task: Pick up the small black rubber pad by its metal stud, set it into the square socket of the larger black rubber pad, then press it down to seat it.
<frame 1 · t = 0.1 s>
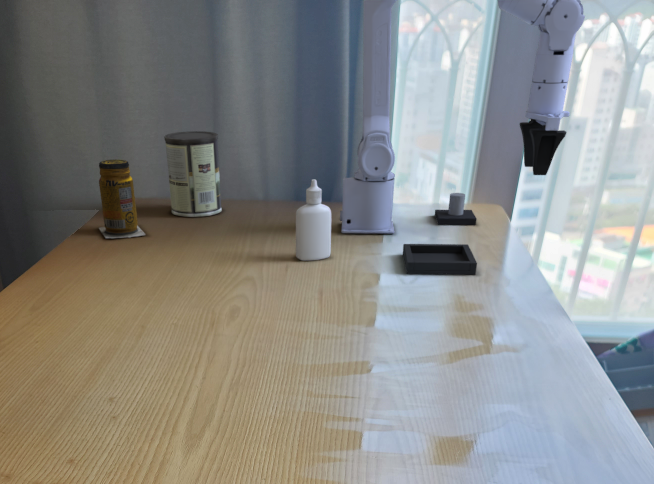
hand: (535, 170, 131), 10 cm above the table, tool pointing down, fingers open, 7 cm apart
coffee can: (196, 212, 152), on the table
condiment: (122, 233, 138), on the table
socket pad: (437, 264, 119), on the table
stud pad: (454, 220, 143), on the table
eye dropper bottle: (313, 258, 123), on the table
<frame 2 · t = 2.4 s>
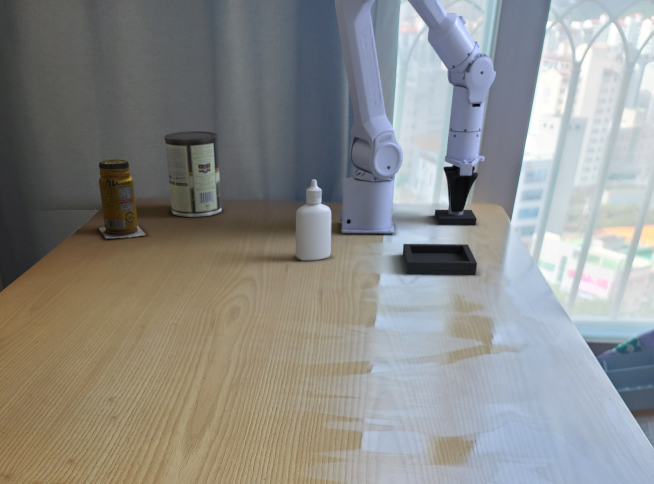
hand: (456, 209, 142), 2 cm above the table, tool pointing down, fingers closed on stud pad, 3 cm apart
stud pad: (454, 220, 143), on the table, touching gripper
everything else where it was.
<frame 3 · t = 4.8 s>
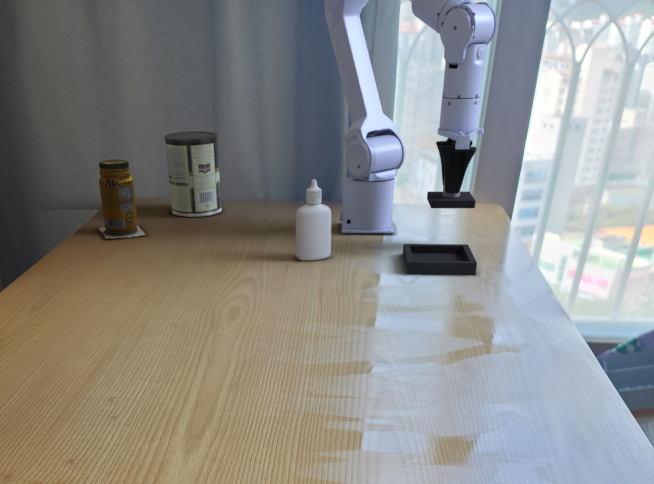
hand: (451, 190, 123), 9 cm above the table, tool pointing down, fingers closed on stud pad, 3 cm apart
stud pad: (450, 203, 124), point 7 cm above the table, touching gripper
everything else where it was.
when the fingers open (3 cm above the table, at t = 7.4 s): stud pad stays where it is, resting on socket pad.
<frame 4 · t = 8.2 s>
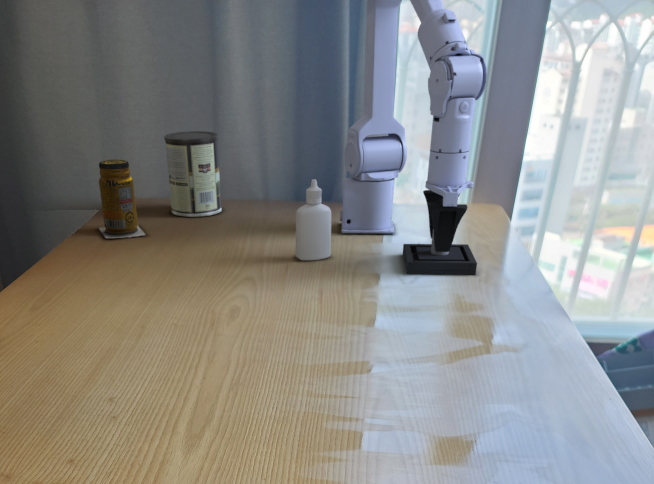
hand: (439, 244, 118), 3 cm above the table, tool pointing down, fingers open, 7 cm apart
stud pad: (438, 260, 119), point 1 cm above the table, touching socket pad
everything else where it was.
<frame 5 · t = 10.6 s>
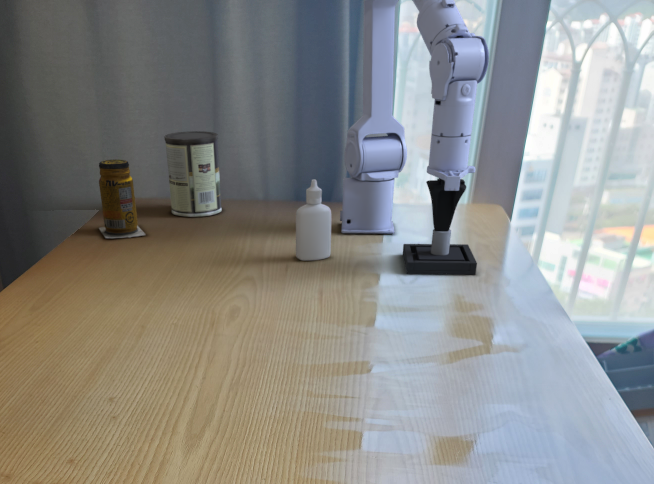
hand: (441, 230, 116), 5 cm above the table, tool pointing down, fingers closed, pressing on stud pad
stud pad: (438, 260, 119), point 1 cm above the table, touching gripper, socket pad
everything else where it was.
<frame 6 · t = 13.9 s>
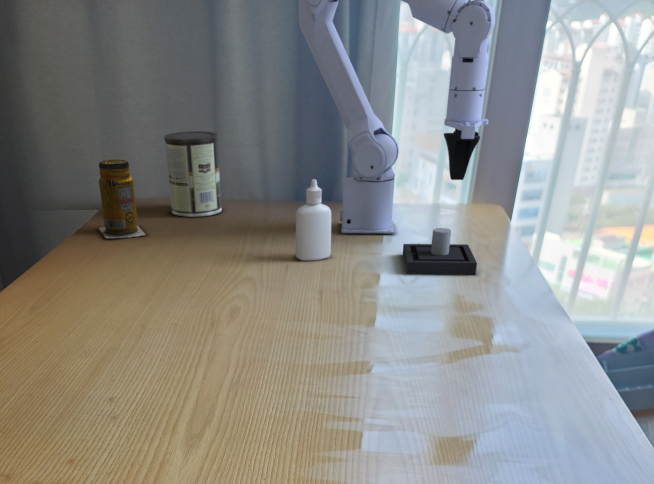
hand: (456, 179, 129), 9 cm above the table, tool pointing down, fingers closed
stud pad: (438, 260, 119), point 1 cm above the table, touching socket pad
everything else where it was.
at the end: stud pad 0.1 cm off-centre on the socket pad, point 0.6 cm above the socket pad's base; stud pad tilted 0°; the gripper is holding nothing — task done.
